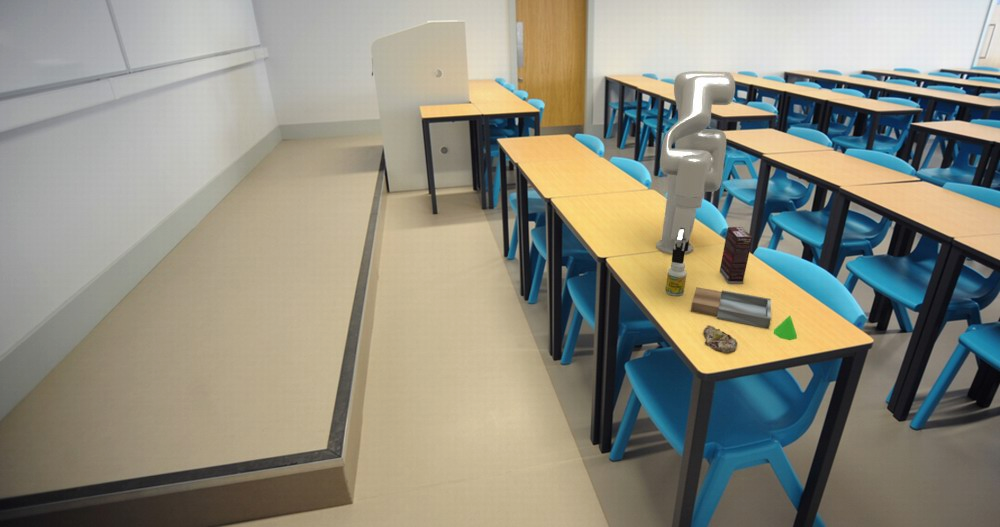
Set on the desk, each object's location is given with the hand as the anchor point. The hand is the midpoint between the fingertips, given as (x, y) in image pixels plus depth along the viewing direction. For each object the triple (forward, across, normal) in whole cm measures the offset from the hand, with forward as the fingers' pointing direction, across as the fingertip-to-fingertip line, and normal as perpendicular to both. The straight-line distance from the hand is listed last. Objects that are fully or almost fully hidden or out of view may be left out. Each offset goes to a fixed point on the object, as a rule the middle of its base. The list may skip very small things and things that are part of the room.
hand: (679, 256), depth 153 cm
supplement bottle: (+12, -1, 0) cm, 13 cm away
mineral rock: (+13, +22, +14) cm, 29 cm away
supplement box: (+12, -18, +15) cm, 26 cm away
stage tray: (+12, +4, +15) cm, 20 cm away
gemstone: (+13, +11, +30) cm, 34 cm away
